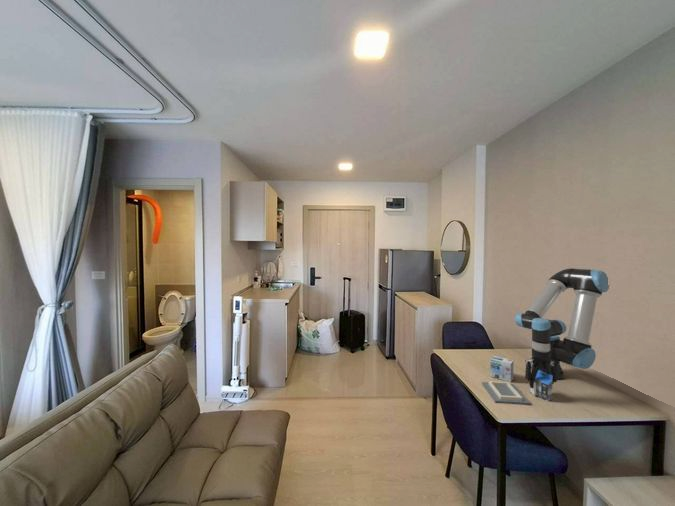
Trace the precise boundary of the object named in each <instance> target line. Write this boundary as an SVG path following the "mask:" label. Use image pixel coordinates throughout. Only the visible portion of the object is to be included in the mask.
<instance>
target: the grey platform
mask: <svg viewBox="0 0 675 506" xmlns="http://www.w3.org/2000/svg"><path fill="white" fill-rule="evenodd" d="M481 385H482V386H483V388H484V389H485V390H486V392H487V394H488V395H489V396H490V398H491V399H492V400H493V401H494V403H495V404H496V403H497V404H507V403H508V405H525V406H531V405H532V403H531V401H530V400H529V399H528V398H527V397H526V396H525V395H524V394H523V393H522V392H521V391H520V389H518V387H517V386H516V385H515V384H514V383H510V382H507V381H494V380H493V381H492V380H489V381H488V382H484V381H481Z"/></svg>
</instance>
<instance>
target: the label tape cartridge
mask: <svg viewBox="0 0 675 506" xmlns="http://www.w3.org/2000/svg"><path fill="white" fill-rule="evenodd" d="M540 373H542V374H543V373H544V374H545V375H546V376H544V375H542V374H540ZM552 378H553V375H550V374H548V375H547V373H545V372H543V371H541V370H538V372H537V375H536V378H535V381H534V382H536V395H535V396H536V397H538V398H541V399H542V400H545V401H547V402H550V401H552V400H553V384H552ZM529 393H531V387H530V386H529ZM531 394H532V393H531Z"/></svg>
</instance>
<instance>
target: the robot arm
mask: <svg viewBox="0 0 675 506" xmlns="http://www.w3.org/2000/svg"><path fill="white" fill-rule="evenodd" d="M607 276H608V275H607V273H606V272H604V270H597V269H589V268H588V269H583V268H565V269H562V270H560V271H558V272H556V273H555V274H553V275H552V276H551V277H550V278H549V279H548V280H547V282H546V286H545V287H544V288H543V290H542V291H541V292H540V293H539V295H538V296H537V297H536V299H534V301H533V302H532V304H531V305H530V306H529V307H528V309H527V310H526V311H525V312H524V313H521V312H519V313H517V314H516V315H515V318H514V322H515V324H516V325H517V326H518V327H521V328H524V329H528V330H531V359H529V360H528V359H525V361H524V362H525V376H524V378H525V379H526V380H527V381H528V382H529V388H530V387H531V394H532V395H533V396H536V382H534V381H535V378H536V375H537V372H538V370H541V371H543V372H545V373H547V375H548V374H550V375H553V378H552V385H554V383H557V381H558V380H562V379H564V371H563V368H562V366H561V364H560V362H561V363H564V364H567V365H570V366H572V367H575V368H579V369H583V370H587V369H589V368H591V367H592V366H593V364H594V363H595V360H596V351H595V349H593V348H592V347H593V345H592V343H590V341H589V340H590V336H591V331H592V325H593V320H594V315H595V310H596V305H597V302H598V301H597V300H598V298H600V297H602V294H603V293H606V292H608V290H609V289H610V284H609V285H608V279H609V277H607ZM567 289H573V292H574V293H575V300H574V303H573V304H574V305H573V308H572V314H571V318H570V324H569V327H568V328H569V329H568V334H567V335H566V336H565V337H563V339H562V340H561V338H560V336H561V335H562V334H563V335H564V334H565V333H566V331H567V325H566V324H565V322H563V321H562V320H560V319H548V318H544V315H545V314H546V313H547V312H548V310H549V308H551V306H552V305H553V304H554V302H556V300H557V298H558V297H560V296H559V295H560V294H562V293H563V292H566V290H567ZM540 374H542V373H540ZM542 375H544V376H546V375H545V374H544V373H543V374H542Z"/></svg>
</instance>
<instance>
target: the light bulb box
mask: <svg viewBox="0 0 675 506" xmlns="http://www.w3.org/2000/svg"><path fill="white" fill-rule="evenodd" d="M490 378H493V379H494V378H495V379H498V380H501V381H503V382H509V383H512V381H513V379H514V360H513V359H510V358H505V357H501V356H497V355H492V357H491V358H490Z"/></svg>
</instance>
